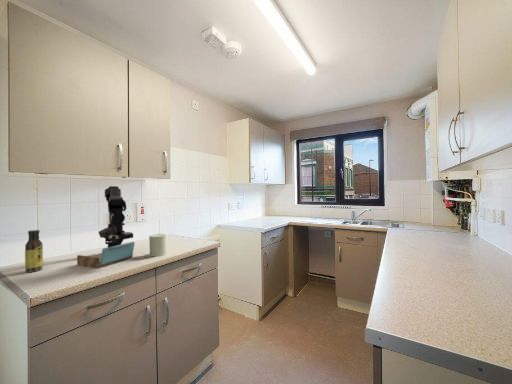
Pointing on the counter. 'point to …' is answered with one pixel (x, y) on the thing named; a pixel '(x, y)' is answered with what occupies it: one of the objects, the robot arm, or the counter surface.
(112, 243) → the robot arm
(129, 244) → the teal flat rectangular block
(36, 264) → the sauce bottle
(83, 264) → the flatbed
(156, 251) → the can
